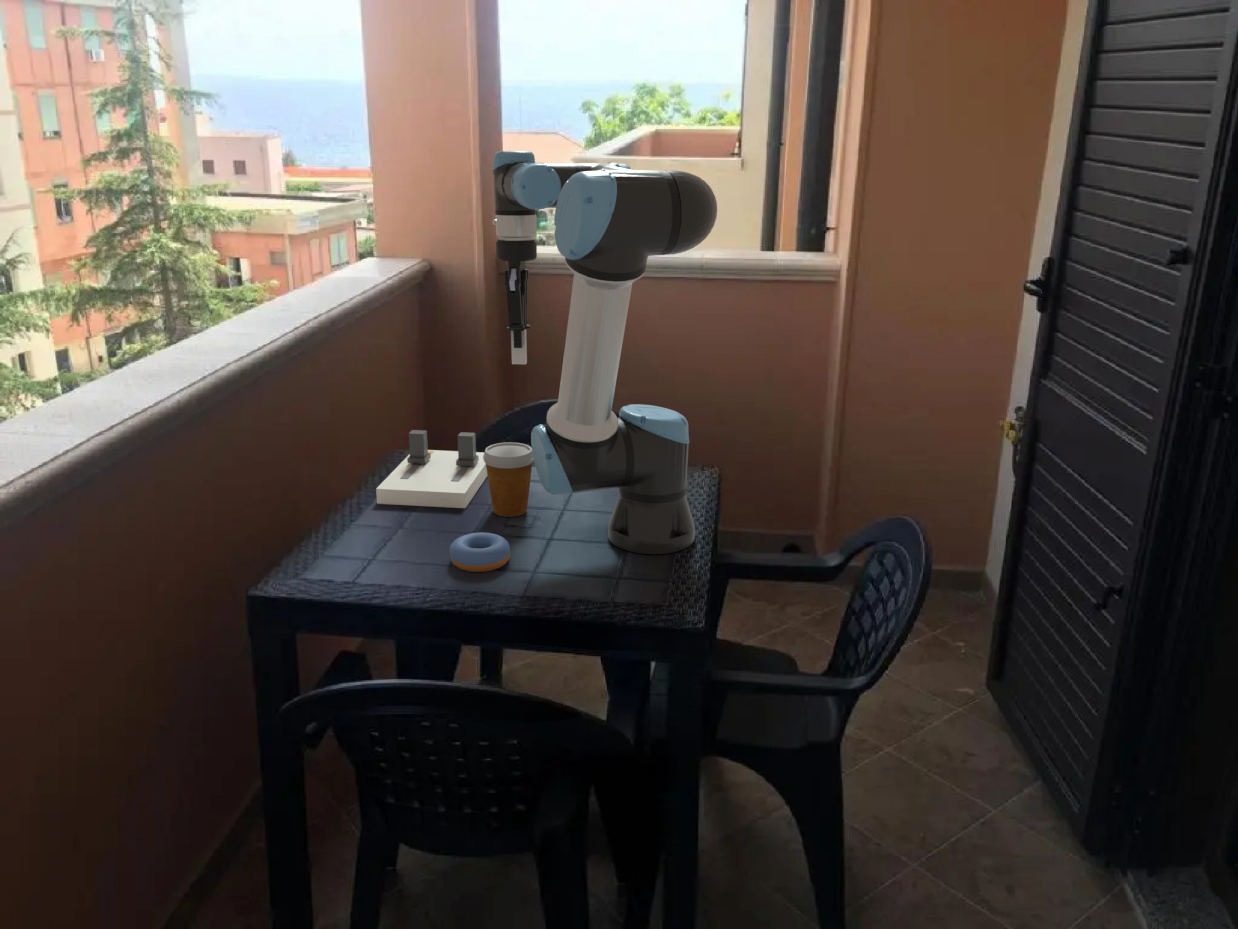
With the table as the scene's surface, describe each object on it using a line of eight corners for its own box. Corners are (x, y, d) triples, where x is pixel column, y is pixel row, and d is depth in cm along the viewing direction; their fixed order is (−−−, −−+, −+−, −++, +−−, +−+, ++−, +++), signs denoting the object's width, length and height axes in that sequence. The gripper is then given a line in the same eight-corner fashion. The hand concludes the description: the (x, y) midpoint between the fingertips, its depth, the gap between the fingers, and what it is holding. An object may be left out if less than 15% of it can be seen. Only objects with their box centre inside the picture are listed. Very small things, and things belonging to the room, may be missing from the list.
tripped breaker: (425, 463, 196) (423, 435, 194) (407, 463, 196) (405, 434, 194) (430, 457, 200) (429, 429, 198) (413, 456, 200) (412, 428, 198)
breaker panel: (465, 508, 183) (464, 492, 182) (377, 503, 184) (376, 488, 183) (493, 466, 205) (493, 452, 204) (414, 462, 207) (414, 448, 206)
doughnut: (442, 572, 156) (444, 545, 155) (455, 549, 166) (457, 524, 164) (503, 580, 156) (506, 554, 154) (513, 557, 165) (516, 532, 164)
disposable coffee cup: (532, 521, 177) (532, 458, 173) (480, 519, 178) (478, 457, 174) (538, 502, 186) (537, 442, 182) (488, 500, 187) (486, 441, 183)
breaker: (473, 466, 195) (472, 437, 193) (456, 465, 195) (455, 436, 193) (478, 459, 199) (477, 431, 197) (461, 459, 199) (460, 431, 197)
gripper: (502, 235, 187) (505, 356, 194) (489, 240, 175) (494, 370, 182) (540, 235, 187) (543, 357, 194) (531, 241, 174) (534, 371, 182)
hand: (519, 363), depth 188 cm, fingers closed
